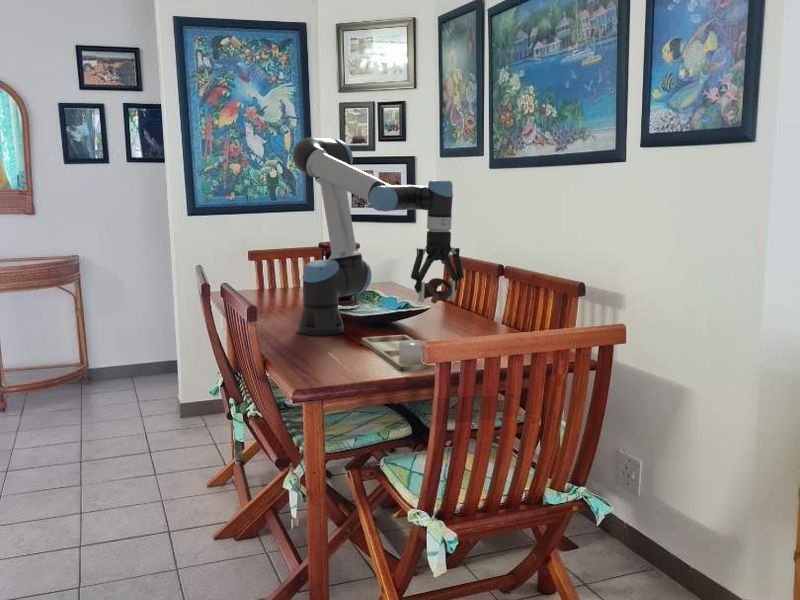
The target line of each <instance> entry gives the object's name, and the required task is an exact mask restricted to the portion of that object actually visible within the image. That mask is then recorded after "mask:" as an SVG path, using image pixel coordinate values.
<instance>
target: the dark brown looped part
mask: <svg viewBox="0 0 800 600" xmlns="http://www.w3.org/2000/svg"><path fill="white" fill-rule="evenodd" d="M442 285H444V286H445V288H447V290H438V288H439V287H441V286H442ZM413 288H414V290H415V292H416V293H417V294H418V295H419V292H418V291H417V290H416V283H415V284H414V287H413ZM451 294H452V291H451V285H450V283H449V281H447V280H446V279H443V278H439V277H433V278H431V279H430V280H429V281H428V282H425V286H424V300H426V299H428V298H431V299H430V302H431V303H432V304H434V305H435V304H436V303H437V302H440V301H443V300H446V299H449V296H450V295H451Z"/></svg>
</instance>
